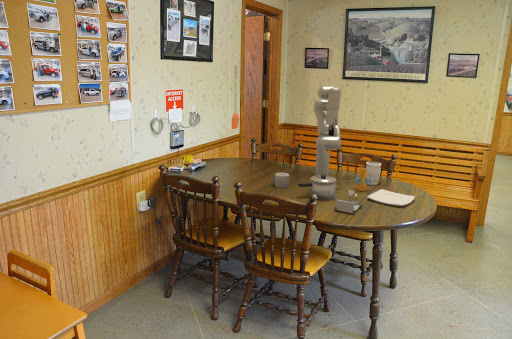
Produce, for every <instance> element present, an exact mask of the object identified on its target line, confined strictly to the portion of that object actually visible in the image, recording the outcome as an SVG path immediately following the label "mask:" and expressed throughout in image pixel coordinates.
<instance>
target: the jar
mask: <svg viewBox="0 0 512 339" xmlns="http://www.w3.org/2000/svg"><path fill="white" fill-rule="evenodd" d="M365 164H366V166H365V168H367V177H366V178H368V177H370V178H371V184H370V183H368V184H370V185H369V186H377V185H378V184H379V183H378V182H379V180H380V176H381V174H382V173H381V172H382V171H381V170H382V169H381V166H382V163H381V162H378V161H366V163H365ZM368 179H369V178H368ZM369 181H370V180H367V182H369Z"/></svg>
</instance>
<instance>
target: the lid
mask: <svg viewBox="0 0 512 339" xmlns="http://www.w3.org/2000/svg"><path fill="white" fill-rule="evenodd" d="M314 175H315V174H314ZM314 175H313V176H310V179H311V181H312V182H316V183H322V184H331V183H335V182H336V183H337V178H335V177H333V176H330V175H328V176H326V175H325V174H321V175H315V176H314Z"/></svg>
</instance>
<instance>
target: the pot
mask: <svg viewBox="0 0 512 339" xmlns="http://www.w3.org/2000/svg"><path fill="white" fill-rule="evenodd" d="M297 186H298V188H308V187H309V195H310V194H316V195H317V197H318V199H317V200H319V201H331V200H334V199H335V198H336V189H337V188H336V187H337V181H336V182H335V183H331V184H322V183H316V182H312V181H311V178H310V181H309V182H307V181H305V182H303V181H302V182H301V181H300V182H297Z"/></svg>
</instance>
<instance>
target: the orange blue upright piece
mask: <svg viewBox="0 0 512 339" xmlns="http://www.w3.org/2000/svg"><path fill="white" fill-rule="evenodd" d="M366 177H367V168H366V167H361V168H360V175H359V176H355V177H354V183H355V184H356V185H357V191H360V192H366V191H368V190H367V189H368V186H371V185H370V184H371V178H370V177H368V178H369V179H368V178H366ZM367 180H370V181H369V182H367ZM368 183H370V184H368Z"/></svg>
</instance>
